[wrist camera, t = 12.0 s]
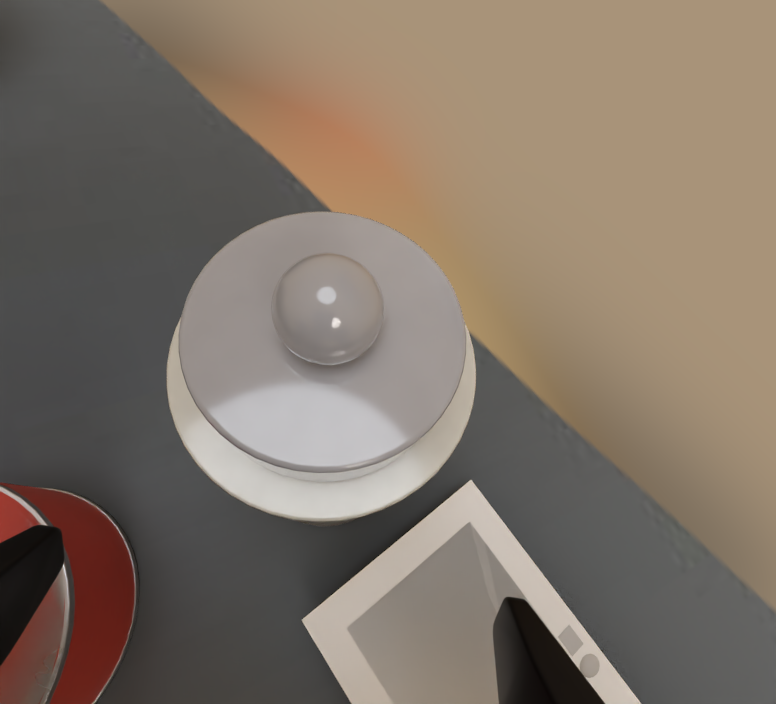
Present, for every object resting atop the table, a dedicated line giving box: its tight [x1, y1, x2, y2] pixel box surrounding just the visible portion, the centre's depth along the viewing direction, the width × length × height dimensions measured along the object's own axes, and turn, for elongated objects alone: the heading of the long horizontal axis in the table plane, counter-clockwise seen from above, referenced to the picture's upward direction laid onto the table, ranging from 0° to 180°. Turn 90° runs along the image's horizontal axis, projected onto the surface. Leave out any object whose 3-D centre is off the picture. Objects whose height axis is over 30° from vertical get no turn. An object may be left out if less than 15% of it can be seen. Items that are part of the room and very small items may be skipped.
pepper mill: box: [167, 212, 476, 526], centre depth 12 cm, size 6×6×14 cm
